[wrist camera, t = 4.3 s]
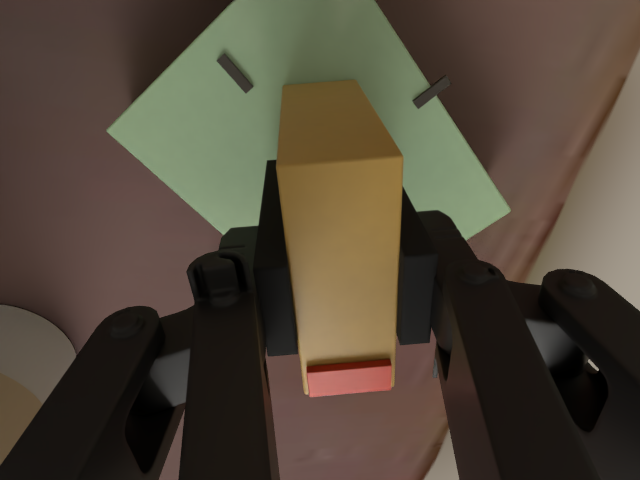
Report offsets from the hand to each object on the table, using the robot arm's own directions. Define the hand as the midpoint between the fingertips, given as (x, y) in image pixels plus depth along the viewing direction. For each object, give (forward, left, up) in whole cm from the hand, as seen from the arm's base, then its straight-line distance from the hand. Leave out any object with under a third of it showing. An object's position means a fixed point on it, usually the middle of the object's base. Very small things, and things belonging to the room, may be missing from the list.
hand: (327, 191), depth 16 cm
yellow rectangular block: (0, 0, -1) cm, 1 cm away
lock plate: (0, 0, -5) cm, 5 cm away
